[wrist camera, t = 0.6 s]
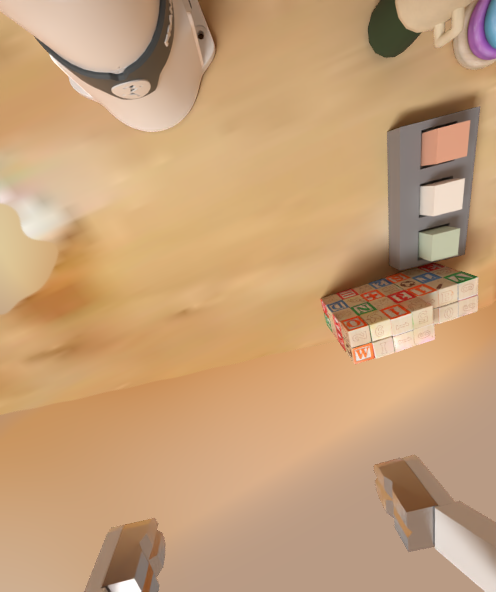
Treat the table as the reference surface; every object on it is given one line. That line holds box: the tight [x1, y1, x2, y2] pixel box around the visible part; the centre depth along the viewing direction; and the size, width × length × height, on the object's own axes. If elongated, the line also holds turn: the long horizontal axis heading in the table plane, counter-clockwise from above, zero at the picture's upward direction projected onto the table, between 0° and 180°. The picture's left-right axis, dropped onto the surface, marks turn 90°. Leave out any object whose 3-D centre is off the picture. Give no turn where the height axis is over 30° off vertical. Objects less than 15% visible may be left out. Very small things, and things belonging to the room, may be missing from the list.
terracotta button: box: [421, 120, 470, 166], centre depth 35 cm, size 4×4×3 cm
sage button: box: [418, 226, 460, 261], centre depth 40 cm, size 4×4×3 cm
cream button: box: [419, 178, 465, 216], centre depth 37 cm, size 4×4×3 cm
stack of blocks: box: [321, 263, 478, 364], centre depth 42 cm, size 21×6×12 cm, turn 109°
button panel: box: [387, 106, 480, 270], centre depth 40 cm, size 21×11×3 cm, turn 14°
